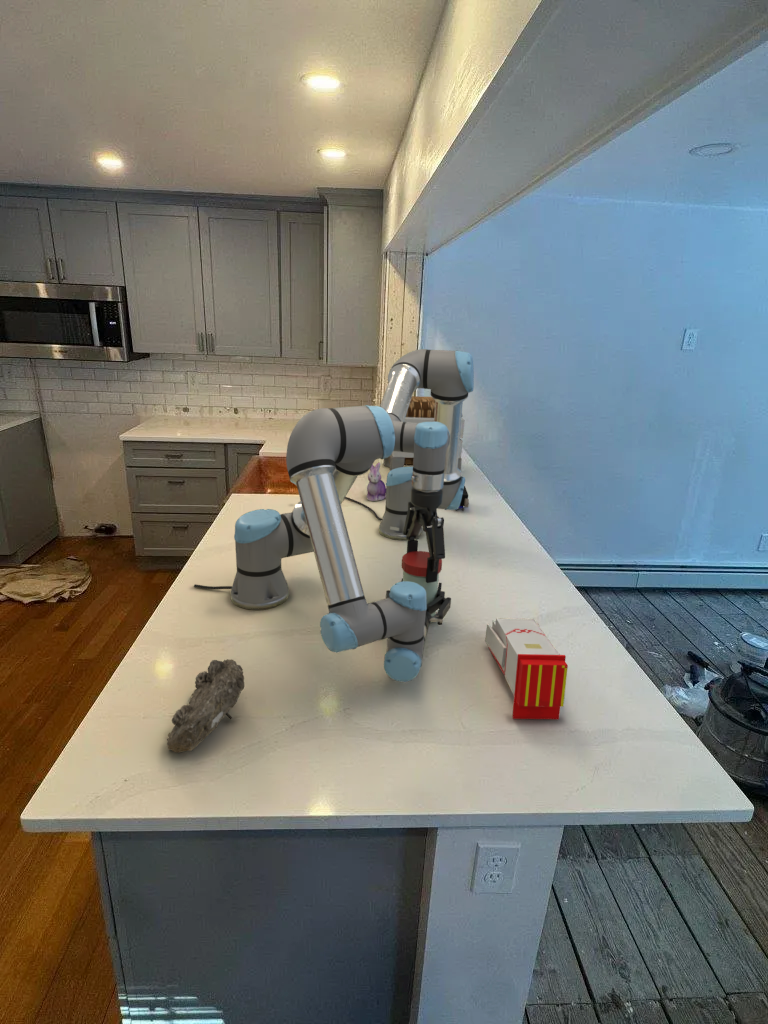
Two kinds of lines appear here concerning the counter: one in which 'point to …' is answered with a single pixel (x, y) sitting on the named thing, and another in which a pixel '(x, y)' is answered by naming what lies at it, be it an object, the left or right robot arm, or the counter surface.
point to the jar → (424, 586)
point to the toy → (529, 667)
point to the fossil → (206, 705)
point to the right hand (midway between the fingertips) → (421, 572)
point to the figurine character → (464, 499)
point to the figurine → (375, 484)
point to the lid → (417, 563)
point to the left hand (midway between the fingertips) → (421, 585)
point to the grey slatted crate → (418, 413)
